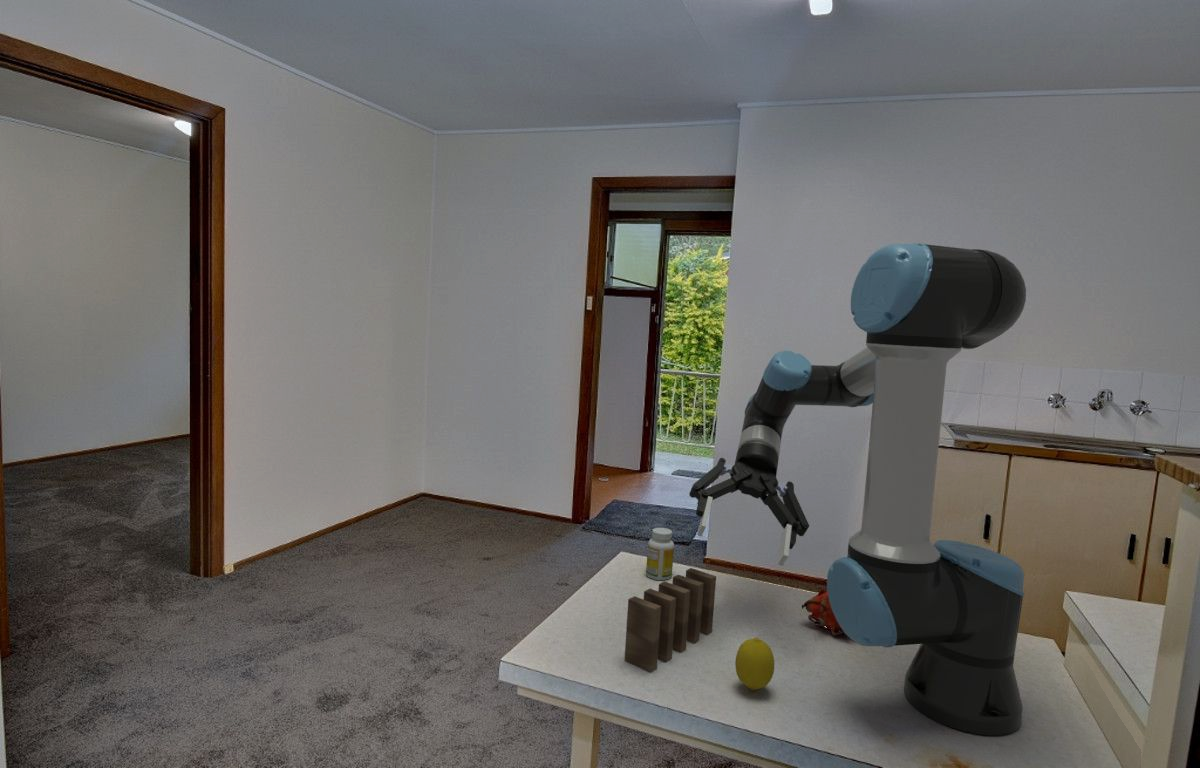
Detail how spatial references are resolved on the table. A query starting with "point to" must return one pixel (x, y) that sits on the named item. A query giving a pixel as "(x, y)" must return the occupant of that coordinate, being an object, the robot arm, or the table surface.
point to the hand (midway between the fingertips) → (741, 545)
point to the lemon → (754, 663)
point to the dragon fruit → (822, 612)
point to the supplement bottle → (660, 554)
